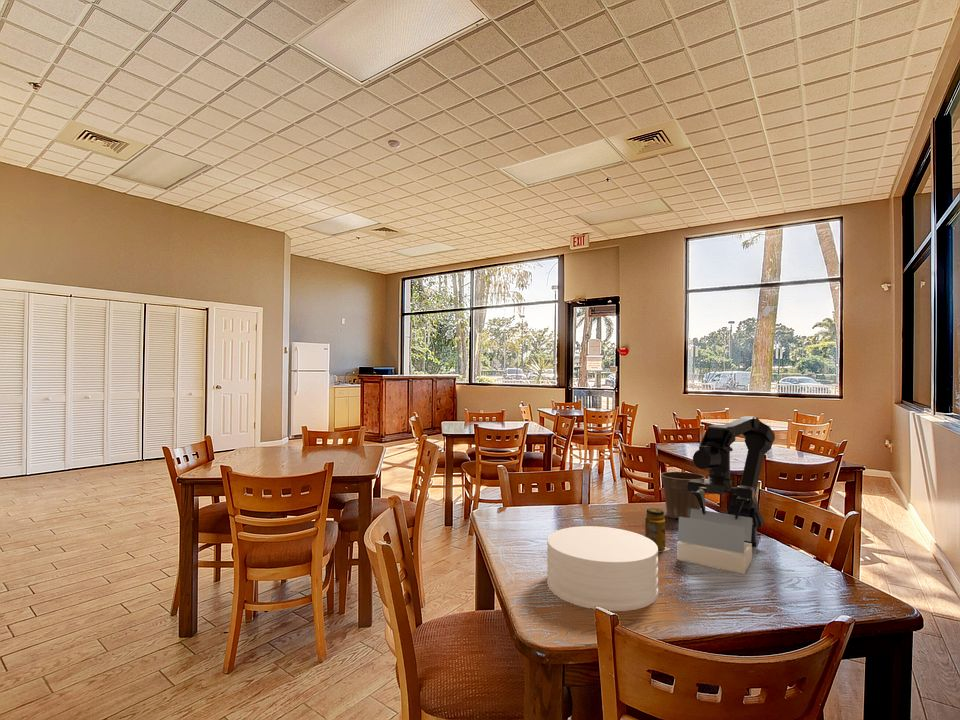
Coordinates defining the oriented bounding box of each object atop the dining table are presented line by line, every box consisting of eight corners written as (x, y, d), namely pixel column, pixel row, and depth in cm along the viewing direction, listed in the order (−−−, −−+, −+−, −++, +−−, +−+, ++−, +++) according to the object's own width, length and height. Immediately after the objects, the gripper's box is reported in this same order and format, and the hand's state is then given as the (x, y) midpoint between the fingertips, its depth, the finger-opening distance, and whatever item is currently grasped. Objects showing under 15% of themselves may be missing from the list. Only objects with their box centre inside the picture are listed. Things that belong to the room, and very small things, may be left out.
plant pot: (652, 512, 204) (652, 471, 204) (689, 510, 207) (689, 470, 207) (675, 523, 188) (675, 480, 188) (714, 521, 191) (714, 478, 191)
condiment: (671, 549, 161) (671, 511, 161) (654, 554, 156) (653, 515, 156) (652, 542, 167) (652, 506, 167) (634, 547, 162) (634, 509, 163)
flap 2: (688, 530, 161) (688, 530, 162) (750, 541, 151) (751, 541, 151) (691, 508, 164) (691, 508, 164) (752, 517, 154) (752, 518, 154)
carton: (688, 547, 162) (688, 532, 162) (751, 560, 151) (751, 543, 151) (677, 559, 151) (677, 542, 151) (744, 574, 141) (744, 556, 141)
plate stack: (682, 595, 127) (682, 549, 128) (598, 622, 113) (598, 570, 114) (603, 559, 152) (603, 521, 152) (526, 578, 138) (526, 535, 138)
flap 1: (743, 553, 141) (743, 553, 141) (678, 540, 152) (677, 540, 151) (744, 527, 143) (744, 527, 142) (679, 516, 153) (679, 516, 153)
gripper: (681, 466, 158) (681, 517, 157) (748, 473, 147) (749, 528, 146) (690, 461, 167) (690, 509, 166) (754, 468, 156) (755, 519, 155)
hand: (719, 516), depth 158 cm, fingers open, 9 cm apart
